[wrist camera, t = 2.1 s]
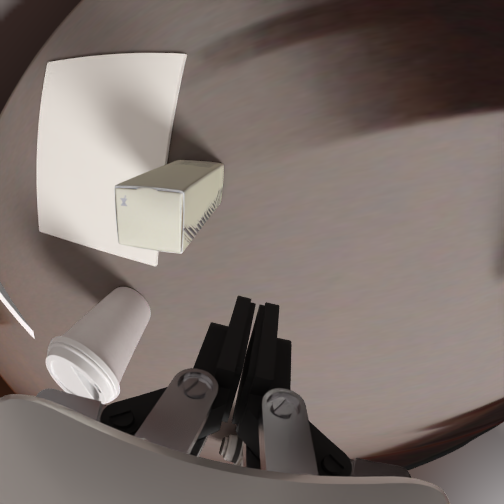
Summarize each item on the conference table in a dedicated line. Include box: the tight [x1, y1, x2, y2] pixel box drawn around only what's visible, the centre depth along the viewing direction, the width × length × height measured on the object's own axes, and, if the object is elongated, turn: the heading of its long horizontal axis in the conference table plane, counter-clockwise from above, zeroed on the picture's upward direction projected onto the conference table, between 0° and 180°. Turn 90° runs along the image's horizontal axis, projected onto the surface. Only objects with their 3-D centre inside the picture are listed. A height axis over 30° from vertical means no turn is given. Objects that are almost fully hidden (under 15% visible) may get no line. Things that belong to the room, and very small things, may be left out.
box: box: [114, 160, 224, 253], centre depth 24 cm, size 5×4×13 cm
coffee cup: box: [46, 287, 151, 404], centre depth 31 cm, size 10×10×15 cm
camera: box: [219, 435, 244, 467], centre depth 43 cm, size 14×8×10 cm, turn 166°
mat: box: [37, 53, 187, 266], centre depth 29 cm, size 24×20×1 cm
